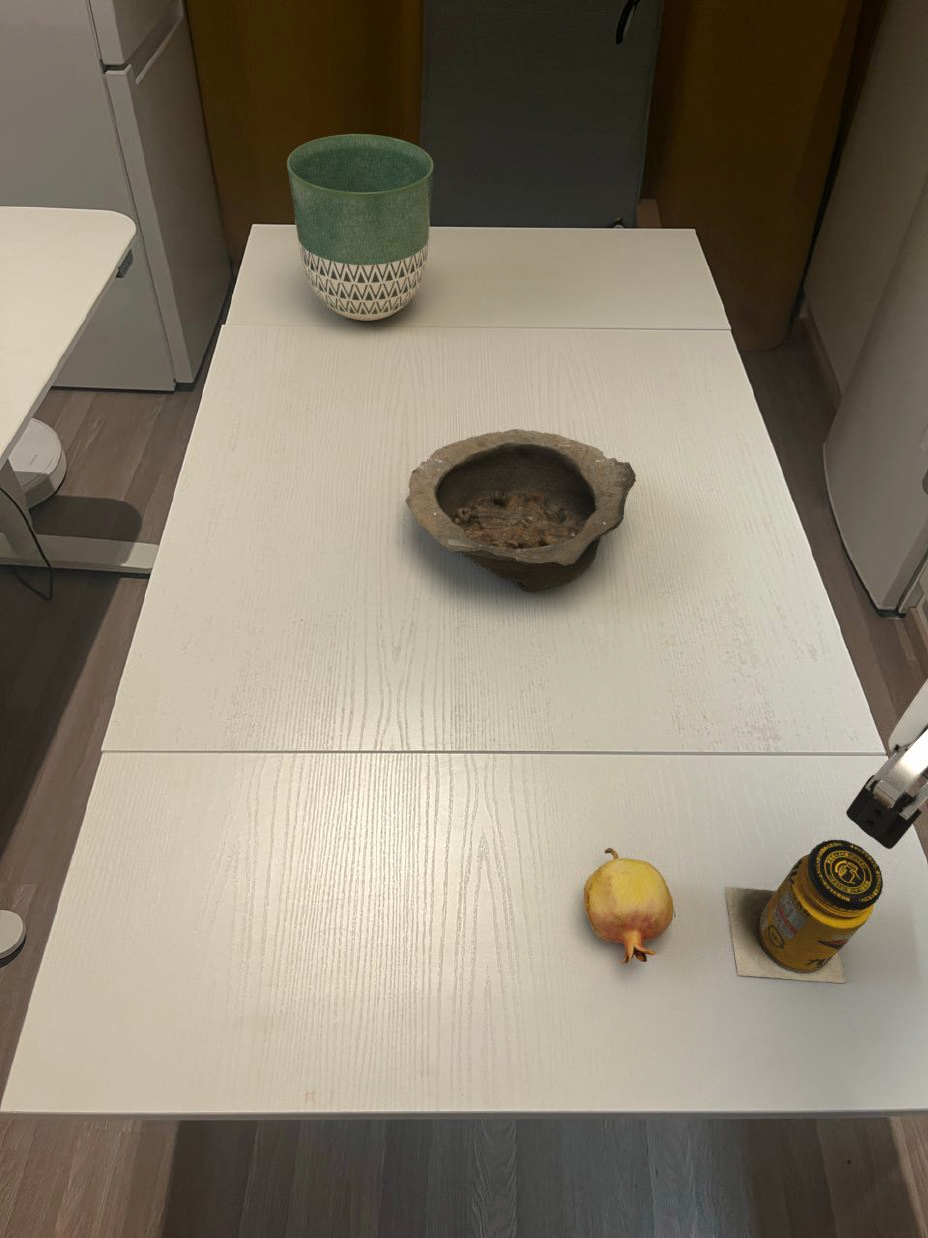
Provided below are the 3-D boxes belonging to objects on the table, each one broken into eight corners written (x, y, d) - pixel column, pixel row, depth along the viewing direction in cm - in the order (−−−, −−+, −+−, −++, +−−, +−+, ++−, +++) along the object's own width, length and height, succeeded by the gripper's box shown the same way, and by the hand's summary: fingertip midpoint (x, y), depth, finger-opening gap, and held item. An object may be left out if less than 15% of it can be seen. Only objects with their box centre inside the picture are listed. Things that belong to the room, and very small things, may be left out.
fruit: (571, 829, 72) (589, 951, 65) (657, 816, 71) (684, 939, 64) (581, 868, 77) (598, 985, 70) (661, 856, 76) (687, 974, 69)
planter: (294, 283, 139) (279, 136, 124) (416, 273, 143) (416, 130, 127) (310, 350, 127) (296, 197, 111) (443, 338, 131) (448, 188, 115)
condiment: (844, 984, 70) (908, 920, 61) (737, 976, 70) (785, 911, 61) (824, 895, 75) (881, 825, 66) (724, 888, 75) (766, 817, 66)
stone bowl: (613, 632, 93) (622, 570, 86) (384, 599, 98) (375, 537, 91) (636, 483, 109) (644, 420, 102) (438, 460, 114) (433, 398, 107)
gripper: (1044, 739, 38) (888, 913, 51) (1204, 569, 46) (1034, 756, 59) (890, 635, 42) (781, 821, 55) (1062, 494, 50) (932, 685, 62)
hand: (912, 787), depth 57 cm, fingers open, 9 cm apart
